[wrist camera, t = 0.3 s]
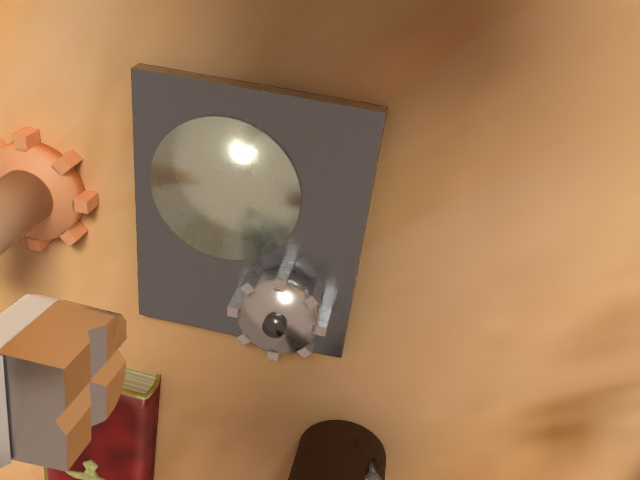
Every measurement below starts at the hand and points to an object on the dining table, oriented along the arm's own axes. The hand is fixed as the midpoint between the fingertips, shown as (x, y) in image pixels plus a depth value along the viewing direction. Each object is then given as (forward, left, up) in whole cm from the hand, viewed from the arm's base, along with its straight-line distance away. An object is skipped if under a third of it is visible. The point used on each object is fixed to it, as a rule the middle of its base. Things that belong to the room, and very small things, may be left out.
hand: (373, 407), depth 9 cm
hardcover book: (+50, -27, -40) cm, 70 cm away
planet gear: (+20, -32, -39) cm, 54 cm away
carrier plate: (+19, -12, -39) cm, 45 cm away
